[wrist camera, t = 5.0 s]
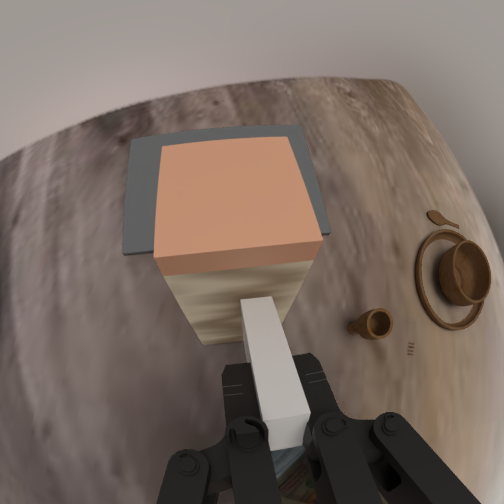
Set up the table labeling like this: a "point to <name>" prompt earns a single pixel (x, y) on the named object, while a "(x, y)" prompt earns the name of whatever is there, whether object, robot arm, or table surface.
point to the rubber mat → (149, 148)
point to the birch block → (232, 230)
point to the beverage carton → (295, 476)
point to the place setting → (451, 280)
